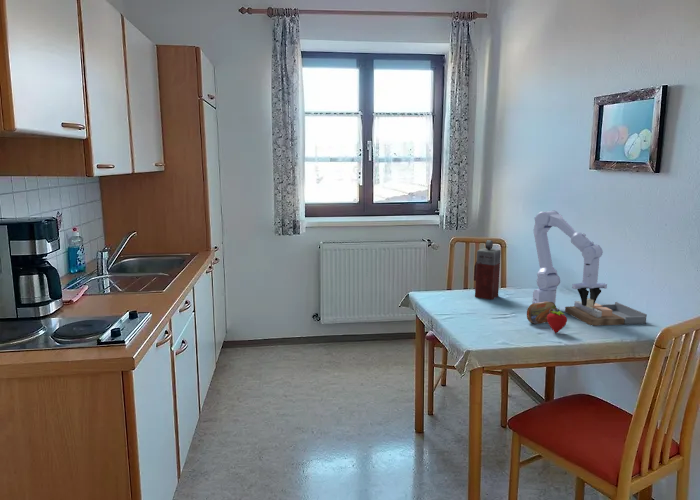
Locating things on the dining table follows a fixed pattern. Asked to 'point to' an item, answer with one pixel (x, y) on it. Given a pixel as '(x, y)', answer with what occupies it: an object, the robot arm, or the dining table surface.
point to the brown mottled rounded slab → (540, 312)
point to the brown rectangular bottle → (487, 272)
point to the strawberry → (556, 320)
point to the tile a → (605, 311)
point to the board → (592, 319)
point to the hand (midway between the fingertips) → (587, 305)
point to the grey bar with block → (588, 308)
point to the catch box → (627, 313)
